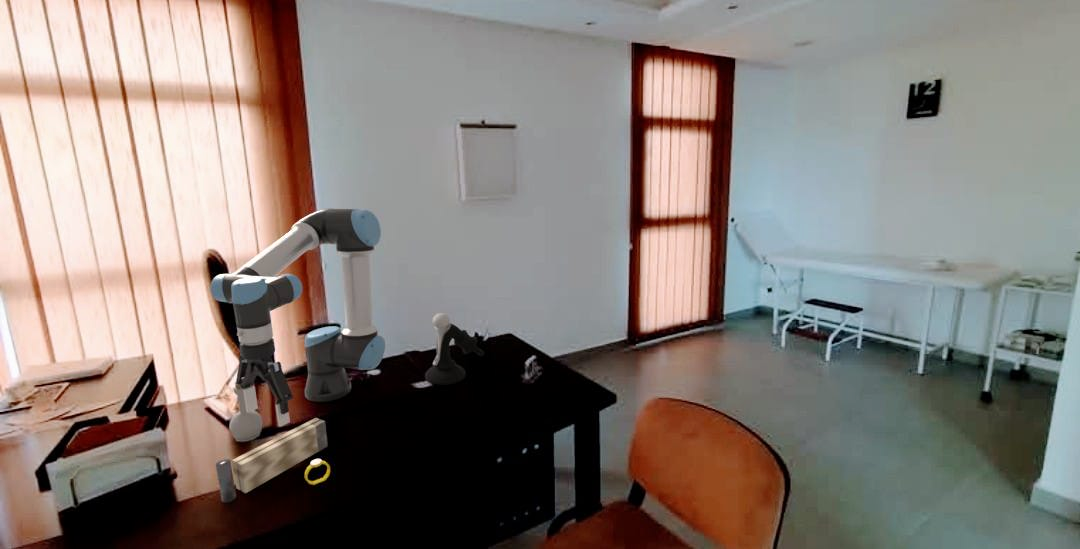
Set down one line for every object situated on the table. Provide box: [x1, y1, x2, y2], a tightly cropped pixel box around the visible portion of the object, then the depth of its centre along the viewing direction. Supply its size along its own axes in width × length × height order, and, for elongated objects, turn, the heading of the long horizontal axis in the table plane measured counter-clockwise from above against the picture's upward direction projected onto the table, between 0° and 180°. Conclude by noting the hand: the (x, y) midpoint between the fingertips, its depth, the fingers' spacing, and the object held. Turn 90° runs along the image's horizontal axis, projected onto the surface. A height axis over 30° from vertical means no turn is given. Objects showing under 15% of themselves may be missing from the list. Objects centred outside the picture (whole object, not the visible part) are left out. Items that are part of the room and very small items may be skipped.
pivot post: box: [215, 458, 237, 504], centre depth 124 cm, size 3×3×10 cm
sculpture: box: [424, 312, 486, 386], centre depth 193 cm, size 15×24×25 cm, turn 120°
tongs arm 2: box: [238, 419, 329, 494], centre depth 137 cm, size 24×2×8 cm, turn 150°
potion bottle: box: [228, 381, 264, 443], centre depth 151 cm, size 9×9×18 cm
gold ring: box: [304, 458, 331, 486], centre depth 131 cm, size 6×3×6 cm, turn 129°
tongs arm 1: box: [231, 417, 321, 491], centre depth 138 cm, size 24×2×8 cm, turn 150°
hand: (267, 417), depth 132 cm, fingers open, 13 cm apart
